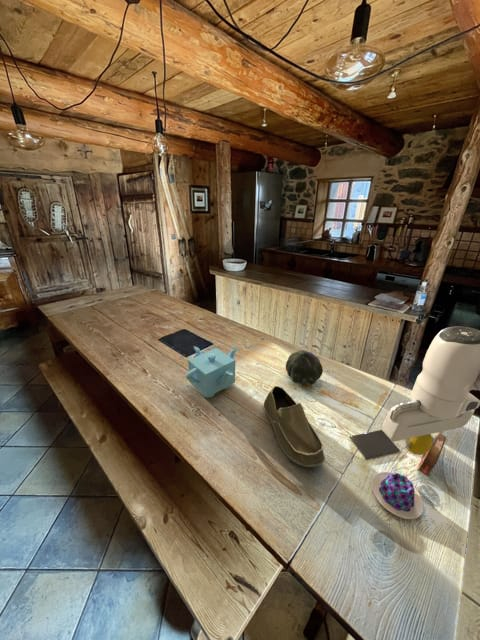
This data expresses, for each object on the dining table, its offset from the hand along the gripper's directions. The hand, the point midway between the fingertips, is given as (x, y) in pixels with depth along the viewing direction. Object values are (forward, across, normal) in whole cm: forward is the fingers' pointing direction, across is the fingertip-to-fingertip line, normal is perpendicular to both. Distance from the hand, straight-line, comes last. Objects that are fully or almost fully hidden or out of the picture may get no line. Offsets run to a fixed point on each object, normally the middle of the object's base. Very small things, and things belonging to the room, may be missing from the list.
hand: (416, 443), depth 63 cm
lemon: (+3, 0, 0) cm, 3 cm away
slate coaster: (+18, +4, +14) cm, 23 cm away
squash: (+18, -4, +49) cm, 52 cm away
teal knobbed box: (+18, -41, +53) cm, 69 cm away
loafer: (+18, -21, +24) cm, 37 cm away
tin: (+18, +16, +5) cm, 25 cm away
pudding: (+18, -1, -1) cm, 18 cm away
